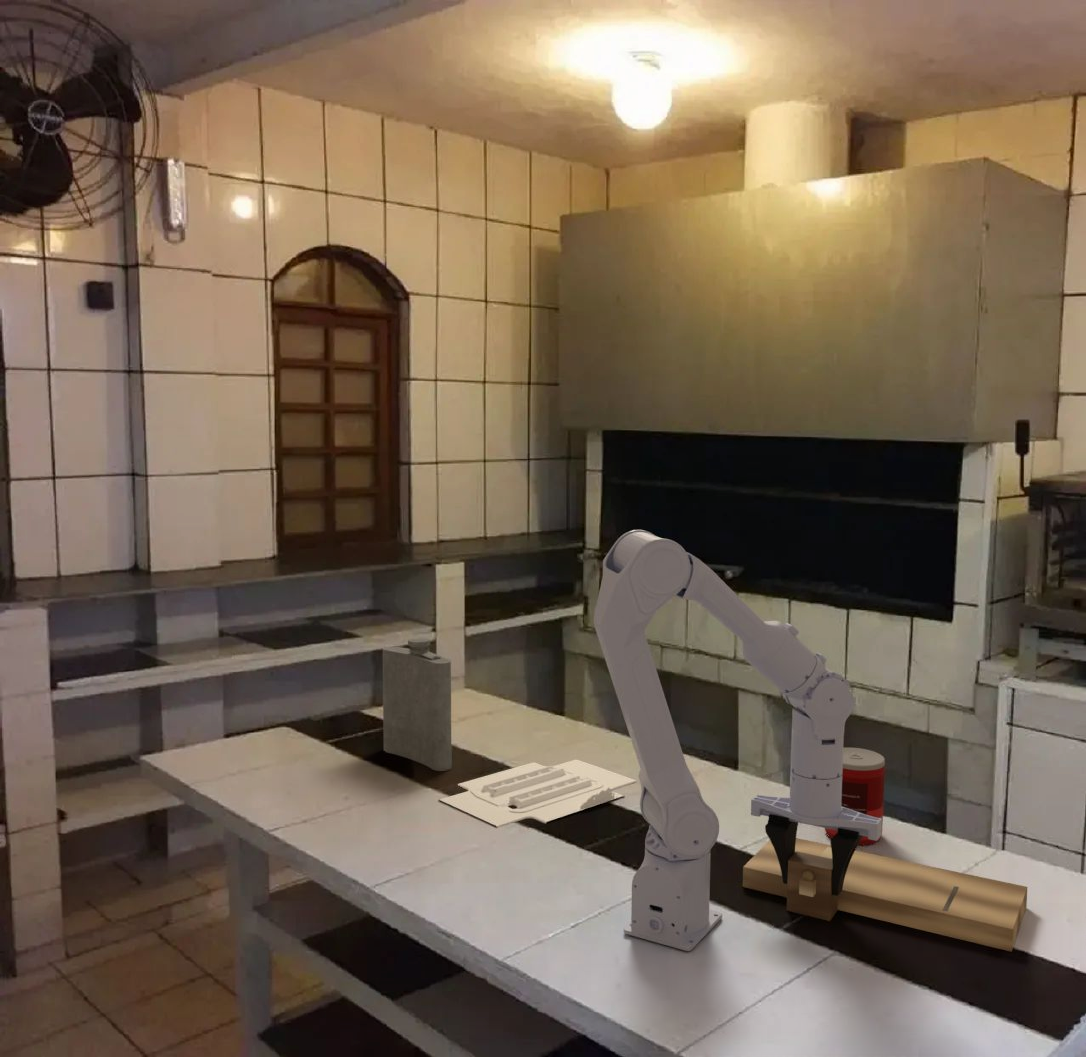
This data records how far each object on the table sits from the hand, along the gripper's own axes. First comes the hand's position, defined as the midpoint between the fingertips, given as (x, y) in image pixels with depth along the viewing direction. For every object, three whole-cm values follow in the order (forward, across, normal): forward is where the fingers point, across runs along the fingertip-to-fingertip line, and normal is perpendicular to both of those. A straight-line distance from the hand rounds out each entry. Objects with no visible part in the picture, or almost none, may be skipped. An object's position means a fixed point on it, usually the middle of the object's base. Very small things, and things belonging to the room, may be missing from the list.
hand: (812, 886), depth 123 cm
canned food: (+3, +2, -25) cm, 25 cm away
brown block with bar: (+3, 0, -3) cm, 4 cm away
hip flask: (+3, +72, -20) cm, 75 cm away
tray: (+4, +47, -17) cm, 50 cm away
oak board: (+3, -6, -8) cm, 10 cm away
